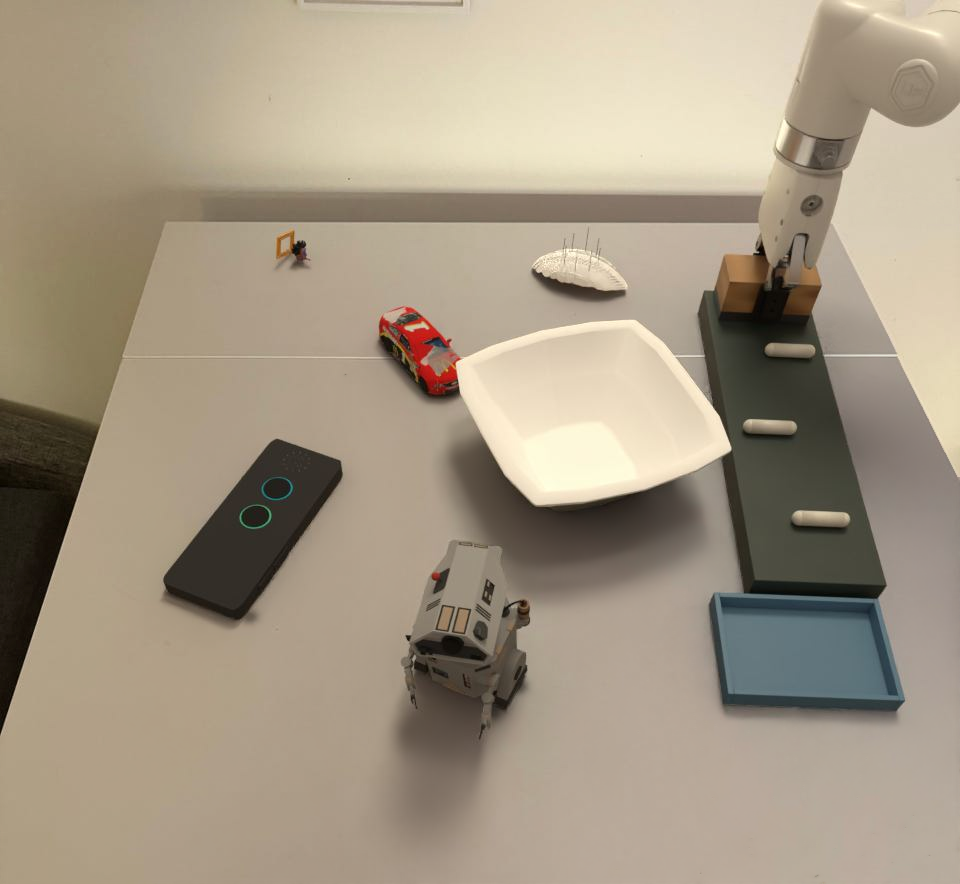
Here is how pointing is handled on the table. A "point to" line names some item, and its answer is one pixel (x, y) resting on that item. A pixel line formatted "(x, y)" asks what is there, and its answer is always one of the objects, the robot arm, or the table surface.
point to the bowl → (589, 413)
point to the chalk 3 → (820, 518)
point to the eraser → (743, 285)
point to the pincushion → (580, 269)
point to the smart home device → (254, 529)
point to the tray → (804, 652)
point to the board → (787, 463)
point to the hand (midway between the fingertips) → (761, 300)
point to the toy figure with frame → (292, 247)
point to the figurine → (469, 629)
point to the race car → (420, 350)
